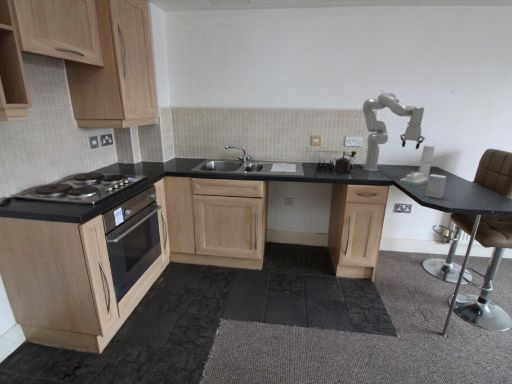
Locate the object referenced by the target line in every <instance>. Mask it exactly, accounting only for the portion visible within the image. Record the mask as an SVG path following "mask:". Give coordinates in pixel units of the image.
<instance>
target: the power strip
mask: <svg viewBox="0 0 512 384" xmlns="http://www.w3.org/2000/svg"><path fill="white" fill-rule="evenodd" d="M418 172H419V171H415V172H414V173H413V176H411V173H409V174H406V175H405V178H406V179H405V180H407V181H412V182H413V181H416V180H418V179H421V178H424V173H421V174H420V173H418Z"/></svg>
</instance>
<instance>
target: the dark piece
mask: <svg viewBox="0 0 512 384" xmlns="http://www.w3.org/2000/svg"><path fill="white" fill-rule="evenodd" d="M355 155H357V151H355V150H353V151H351V154H347V153H346V151H343V155H342V157H340V158H337V159H336V160H335V166H334V167H335V169H334V172H339V173H348V172H350V165H351V160H350V159H347V158H346V157H345V156H348V157H351V158H355Z"/></svg>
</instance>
